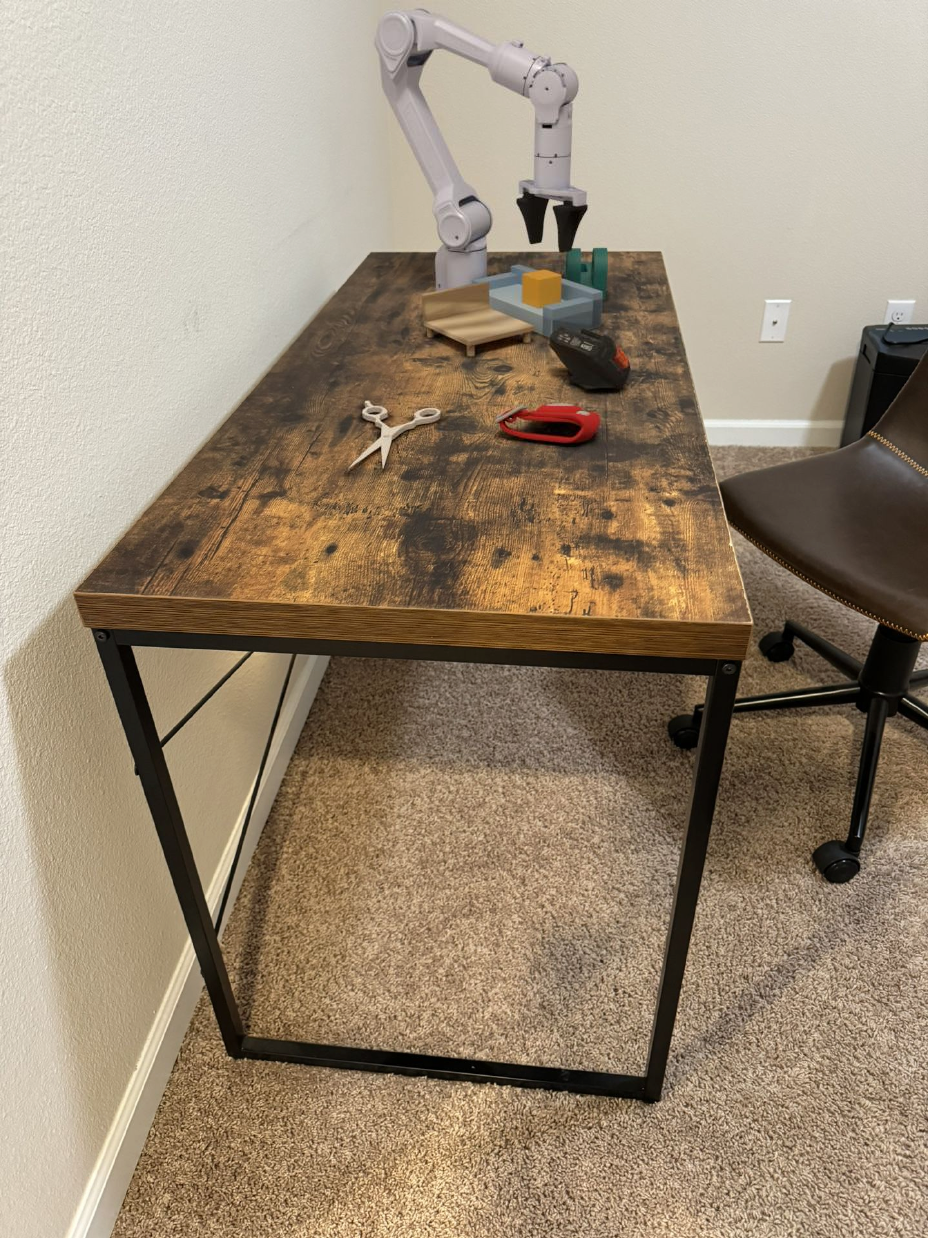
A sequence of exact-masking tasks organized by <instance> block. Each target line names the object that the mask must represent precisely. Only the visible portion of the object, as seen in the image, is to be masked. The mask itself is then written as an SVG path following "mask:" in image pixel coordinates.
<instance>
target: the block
mask: <svg viewBox="0 0 928 1238" xmlns="http://www.w3.org/2000/svg"><path fill="white" fill-rule="evenodd" d="M562 278H563V274H560V273H557V272H555V271H551V270H548V269H540V270H538V271H534V272H530V273H525V274H522V303H525V304H528V305H530V306H533V307H536V308H538V309H540V308H543V306H546V305H550V304H555V303H559V302H561V282H562Z"/></svg>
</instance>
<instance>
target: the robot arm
mask: <svg viewBox="0 0 928 1238" xmlns="http://www.w3.org/2000/svg"><path fill="white" fill-rule="evenodd" d="M524 44H525V43H524V41H521V40H520V39H513V40H512V41H510V40H505V41H503V42H501V43H499V44H495V43H493V42H491V41H489V40H488V39H487V38H484V37H483V36H480V35H479V34H477V33H475V32H474V31H471V30H470V29H468V28H467V27H465V26H462V25H461V24H459V23H457V22H455V21H454V20H451V19H450V18H448V17H447V16H444V15H442V14H440V13H436V12H431V11H429V10H428V9H426V8H423V7H420V8H419V7H418V8H414V9H407V10H398V9H392V10H389V11H387V12H385V13H384V14H383V15H382V16H381V18H380V20H379V21H378V24H377V28H376V32H375V35H374V40H373V45H374V48H375V49H376V51H377V53H378V59H379V68H380V79H381V87H382V90H383V93H384V95H385V97H386V100H387V102H388V104H389V106H390V108H391V110H392V112H393V114H394V116H395V118H396V121H397V123H398V124H399V127H400V128H401V130H402V132H403V134H404V137H405V138H406V141H407V143H408V145H409V147H410V149H411V151H412V153H413V156H414V157H415V160H416V162H417V163H418V166H419V167H420V170H421V172H422V174H423V176H424V178H425V181H426V182H427V184H428V186H429V189H430V190H431V192H432V194H433V204H432V214H433V216H434V218H435V221H436V230H437V231H436V232H437V236H438V237H439V240H440V241H441V243H442V245H441V246H440V247H439V248H438V250H437V251H436V254H435V256H434V257H435V259H434V267H435V268H434V271H435V292H436V291H440V290H445V289H450V288H455V287H460V286H465V285H470V284H472V280H474V279H479V278H484V277H488V241H487V235H488V234H489V233H490V231H491V229H492V228H493V224H494V223H493V221H494V219H493V214H492V213H493V212H492V211H491V208H490V207H489V205H488V204H487V203H486V202H484V201H483V200H482V199H481V198H480V197H479V195H478V193H477V190H476V189H475V188H474V187H472V186H471V185H470V184H469V183H467V182H466V181H465V180H464V178H463V177H462V175H461V172H460V170H459V168H458V166H457V164H456V162H455V160H454V158H453V155H452V153H451V151H450V149H449V147H448V145H447V143H446V140H445V138H444V136H443V133H442V132H441V130H440V128H439V125H438V124H437V121H436V119H435V117H434V115H433V113H432V111H431V108H430V106H429V104H428V102H427V100H426V98H425V96H424V94H423V92H422V89H421V87H420V80H421V77H422V73H423V70H424V67H425V66H426V64H427V62H428V61H429V59H430V58H431V56H432V55H433V53H434V51H435V50H444V51H447V52H449V53H451V54H454V55H456V56H458V57H461V58H462V59H464V60H468V61H470V62H472V63H474V64H477V65H479V66H482V67H483V68H485V69H487V70H488V73H489V76H490V78H491V80H492V82H494V83H496V84H498V85H500V86H501V87H504V88H505V89H508V90H510V91H512V92H514V93H515V94H518V95H520V96H522V97H524V98H526V99H529V100H530V102H531V104H532V106H533V107H534V138H533V139H534V142H533V143H534V149H533V154H534V155H533V180H532V179H523V180H519V181H518V194H519V195H522V197H518V198H516V200H515V201H516V202H515V204H516V205H517V207H518V209H519V211H520V214H521V216H522V218H523V221H524V225H525V229H526V233H527V238H528V241H529V242H528V243H529V245H537V244H541V243H542V241H543V239H544V238H543V237H544V228H545V227H544V226H545V218H546V211H547V208H548V205H549V201H550V200H552V201H557V202H560V203H561V204H557V205H552V211H553V215H554V218H555V222H556V228H557V247H558V252H559V253H562V254H563V253H567V252H569V251H571V250H572V248H573V246H574V242H575V240H576V239H575V238H576V235H577V232H578V229H579V227H580V224H581V222H582V220H583V217H584V216H585V214H586V213H587V211H588V209H589V205H588V204H587V197H588V196H587V195H588V192H587V190H582V189H580V188H577V187H576V186H573V185H572V184H571V167H572V166H571V165H572V142H573V141H572V139H573V104H574V103H573V101H574V100H575V98H576V97H577V95H578V92H579V85H580V83H579V78H578V75H577V72H576V71H575V70H574V69H573V68H572V66H569V65H568V64H567V62H564V61H560V62H555V63H553V64H552V62H551V60H552V57H551V56H550V55H548V54H543V55H540V54H537V53H535V52H533V51H531V50H529V49H527V48H525V47H524Z"/></svg>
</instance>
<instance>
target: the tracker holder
mask: <svg viewBox="0 0 928 1238" xmlns="http://www.w3.org/2000/svg"><path fill="white" fill-rule="evenodd" d="M517 418H518V419H521V420H522V421H529V422H546V423H547V422H549V423H550V422H552V423H570V424H575V425H577V426H579V427H580V430H579V431H578V432H577V434H576V435H574V436H573V437H569V436H560V435H551V434H541V433H532V432H524V431H519V430H516V429H513V428H511V427H509V426H508V425H507V424H506V423H508V424H513V423H514V422H516V421H517V420H518V419H517ZM494 423H495V424H498V426H499V427H500V429H501V430H502V431H503V432H505V433H506V434H508V435H511V436H514V437H516V438H517V437H518V438H521V439H526V440H534V441H542V442H550V443H560V444H577V443H584V442H586V441H588V440H590V439H591V438H592V437H593V436H594V435H595V434H596V433H597V431H598V429H599V427H600V423H601V418H600V415H599V413H597V412H593V411H585V410H583V408H582V407H580V406H578V405H576V404H570V403H564V402H563V403H562V402H560V403H559V402H558V403H556V402H555V403H548V404H543V405H540V406H538V407H537V408H536V409H535V410H528V406H527V405H519V406H517V407H515V408H511V409H510V408H508V409H506V410H504V411H502V412H500V413H499V414H498V415H496V416H495V419H494Z"/></svg>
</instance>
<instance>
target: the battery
mask: <svg viewBox="0 0 928 1238" xmlns="http://www.w3.org/2000/svg"><path fill="white" fill-rule="evenodd" d="M548 346H549V348H550V349H551V350H552V351H553V352H554V354H555V355H556V357H557V358H558V359H559V361H560V363H562V365H564V367H565V368H566V369H567V371H569V373H570V374H571V375H572V377H570V378H568V380H569V381H571V382H572V383H574V384H576V385H577V386H579V387H580V388H582V389H583V390H587V391H588V390H595V389H621V388H622V387H624V386H625V385H626V383H627V381H628V378H629V375H630V373H631V369H632V368H631V367H632V366H631V364H630V360H629V359H628V358H627V356H626V354H625V352H624V351H623V350H622V348H621V347H620V346H619V345H618V344H617V343H616V341H615V340H614V339H613V338H612V337H611V336H610V335H608V334H604V335H602V334H601V333H600V334H599V333H597V332H594V331H592V330H590V329H589V330H586V329H584V328H582V329H581V332H577V331H574V330H571V329H568V328H565V327H562V326H560V327H559V328H558V330H556V331H553V332H552V334H551V335H550V338H549V340H548Z"/></svg>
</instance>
